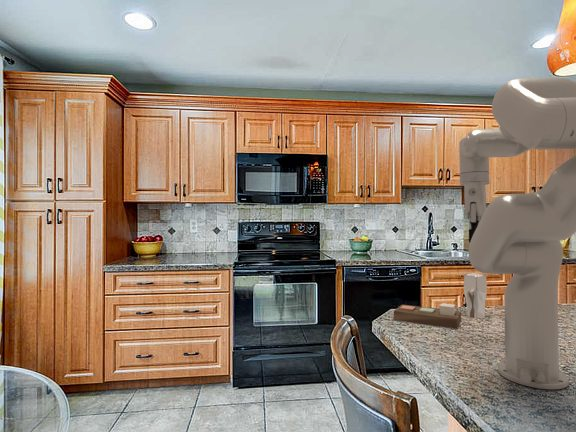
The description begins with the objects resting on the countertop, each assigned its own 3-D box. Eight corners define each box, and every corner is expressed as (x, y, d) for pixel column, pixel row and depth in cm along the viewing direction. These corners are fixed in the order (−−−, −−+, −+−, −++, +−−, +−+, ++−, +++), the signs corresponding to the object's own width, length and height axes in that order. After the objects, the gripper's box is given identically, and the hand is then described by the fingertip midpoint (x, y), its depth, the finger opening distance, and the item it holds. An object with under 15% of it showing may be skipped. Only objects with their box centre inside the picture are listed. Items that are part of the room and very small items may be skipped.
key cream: (453, 317, 110) (453, 307, 110) (439, 315, 112) (439, 305, 112) (455, 314, 113) (455, 304, 113) (441, 313, 116) (441, 303, 116)
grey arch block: (488, 317, 122) (487, 274, 122) (486, 322, 116) (485, 277, 116) (465, 315, 126) (464, 272, 126) (463, 319, 120) (462, 275, 120)
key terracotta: (412, 319, 117) (412, 309, 117) (400, 317, 119) (400, 307, 119) (415, 316, 120) (415, 306, 120) (403, 314, 122) (403, 305, 122)
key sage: (432, 321, 113) (432, 311, 113) (419, 319, 115) (419, 310, 115) (434, 318, 117) (434, 309, 117) (422, 317, 119) (422, 307, 119)
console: (457, 332, 107) (457, 318, 107) (393, 322, 117) (393, 310, 117) (461, 323, 115) (461, 311, 115) (401, 315, 125) (401, 304, 125)
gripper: (487, 176, 94) (489, 245, 93) (490, 181, 106) (491, 242, 106) (456, 178, 98) (457, 244, 97) (462, 182, 110) (463, 241, 110)
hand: (475, 243), depth 102 cm, fingers closed
